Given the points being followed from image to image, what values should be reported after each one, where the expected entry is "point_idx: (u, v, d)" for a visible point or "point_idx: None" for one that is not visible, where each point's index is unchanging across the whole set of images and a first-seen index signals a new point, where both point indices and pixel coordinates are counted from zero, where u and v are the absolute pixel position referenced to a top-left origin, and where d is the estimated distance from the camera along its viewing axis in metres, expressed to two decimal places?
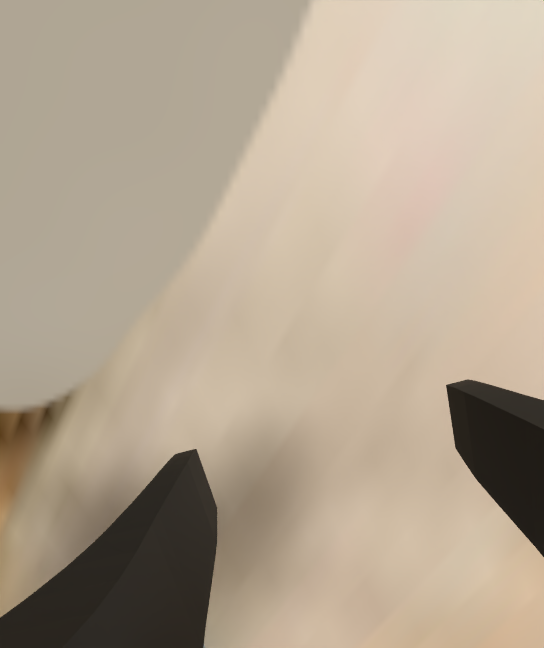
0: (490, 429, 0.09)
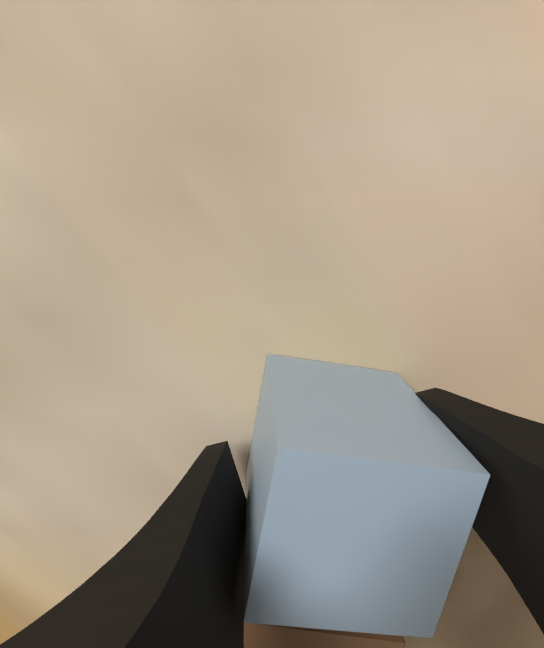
0: None
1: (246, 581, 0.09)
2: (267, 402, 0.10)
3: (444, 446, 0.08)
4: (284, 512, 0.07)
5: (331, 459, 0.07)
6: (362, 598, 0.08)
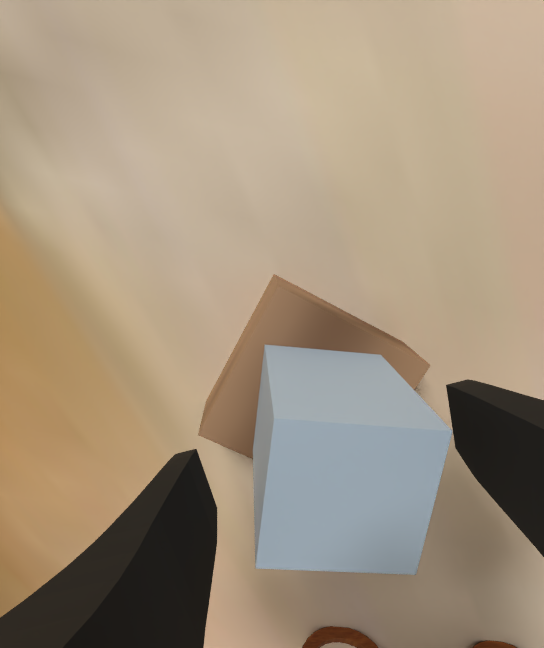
0: (490, 429, 0.09)
1: (256, 536, 0.10)
2: (266, 385, 0.11)
3: (416, 411, 0.10)
4: (284, 471, 0.09)
5: (319, 425, 0.09)
6: (354, 542, 0.10)
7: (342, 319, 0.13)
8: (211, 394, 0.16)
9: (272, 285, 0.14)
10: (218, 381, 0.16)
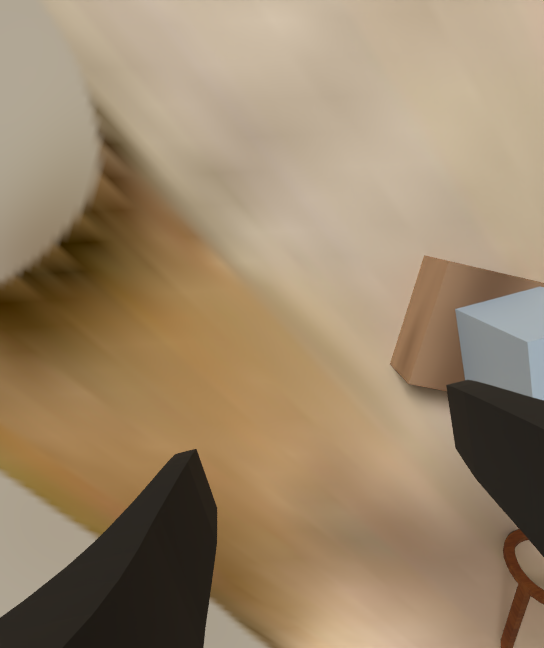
0: (490, 429, 0.09)
1: None
2: (483, 332, 0.16)
3: None
4: (541, 374, 0.14)
5: None
6: None
7: (498, 273, 0.18)
8: (396, 356, 0.21)
9: (433, 263, 0.19)
10: (400, 345, 0.21)
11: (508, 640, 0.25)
